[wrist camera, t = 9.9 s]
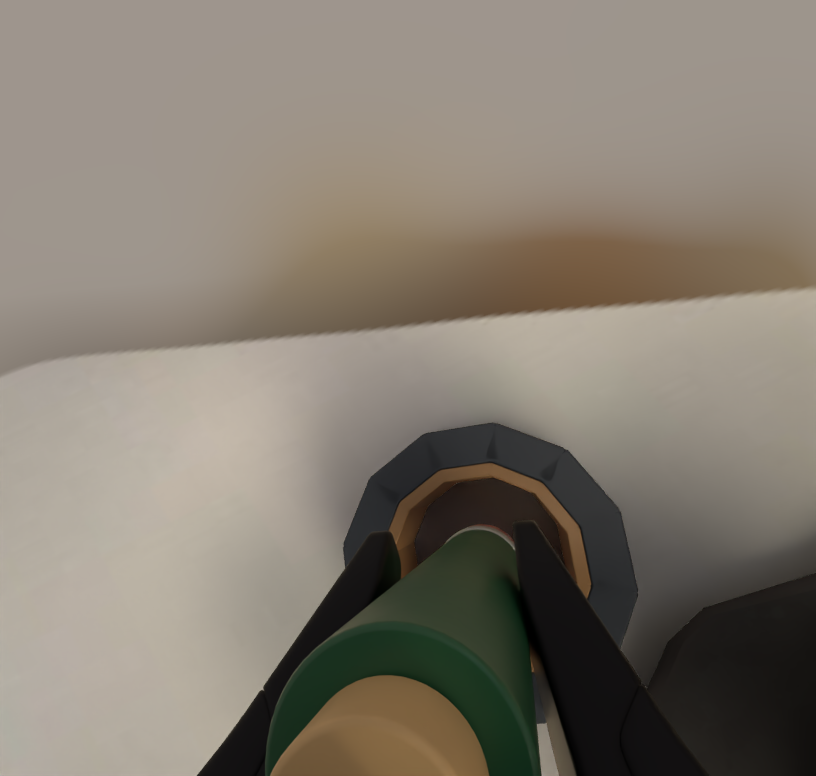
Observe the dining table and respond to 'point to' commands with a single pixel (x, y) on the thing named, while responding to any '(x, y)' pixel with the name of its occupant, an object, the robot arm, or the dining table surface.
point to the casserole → (746, 683)
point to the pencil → (420, 677)
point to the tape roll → (524, 468)
